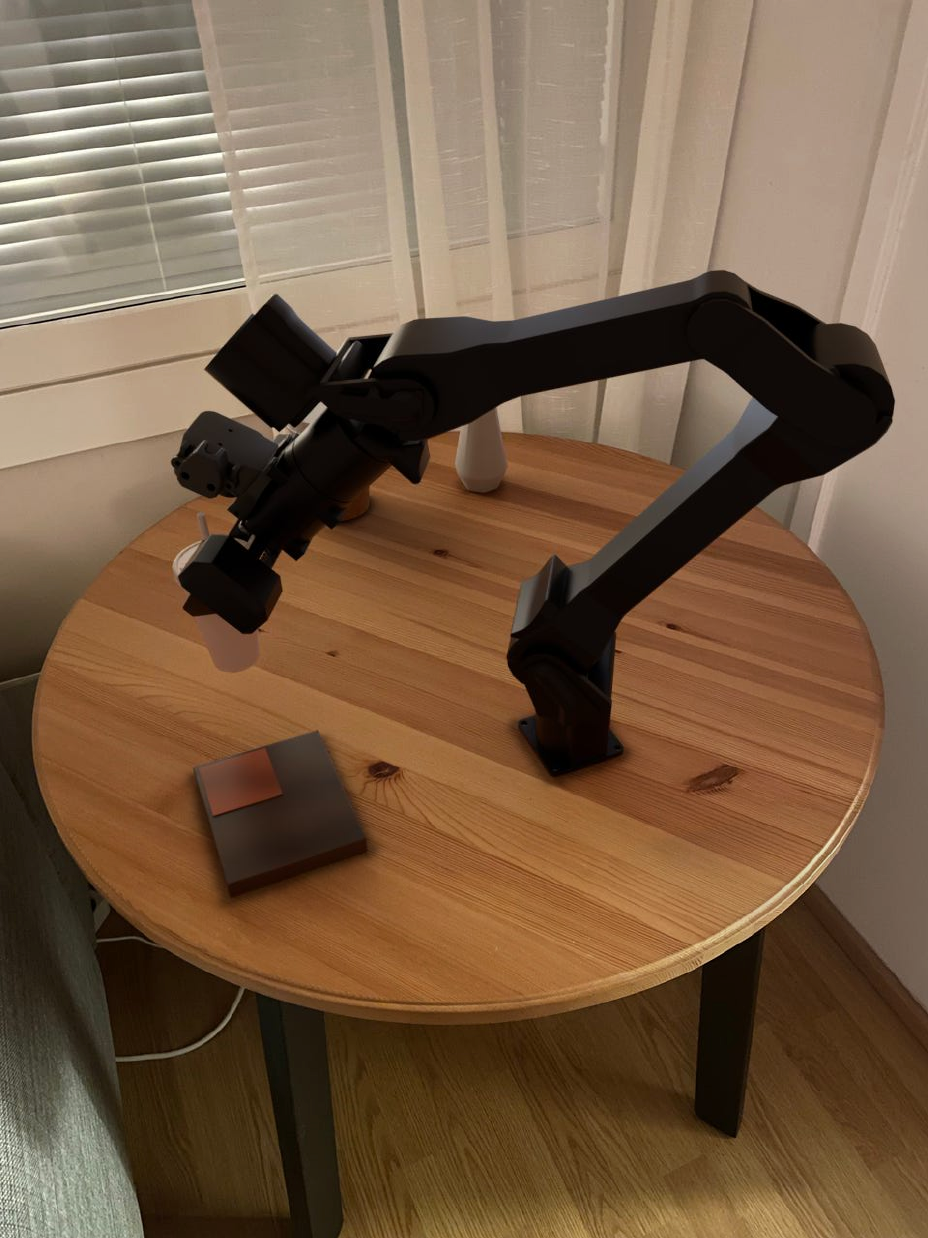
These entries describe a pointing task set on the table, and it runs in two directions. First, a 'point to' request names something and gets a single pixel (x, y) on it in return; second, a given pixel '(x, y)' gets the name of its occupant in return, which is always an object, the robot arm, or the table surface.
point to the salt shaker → (481, 454)
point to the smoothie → (220, 623)
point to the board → (278, 812)
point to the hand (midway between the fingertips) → (204, 585)
